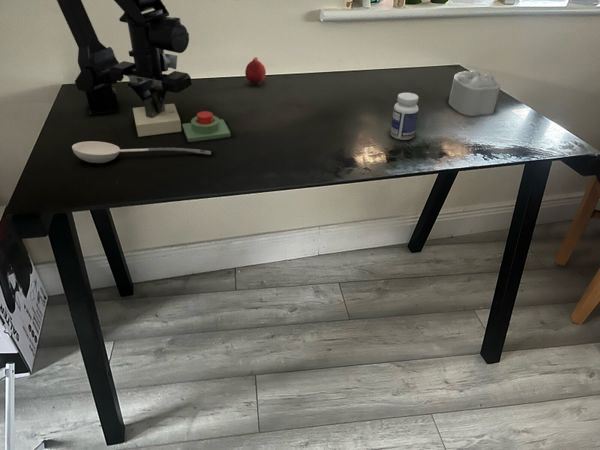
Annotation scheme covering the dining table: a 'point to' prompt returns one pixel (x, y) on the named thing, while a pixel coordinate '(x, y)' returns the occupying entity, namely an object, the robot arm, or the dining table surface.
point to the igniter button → (205, 117)
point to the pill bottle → (404, 116)
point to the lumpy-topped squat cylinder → (474, 93)
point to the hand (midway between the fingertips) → (155, 111)
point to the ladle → (115, 151)
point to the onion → (255, 71)
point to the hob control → (157, 121)
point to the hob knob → (151, 108)
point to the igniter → (205, 130)
